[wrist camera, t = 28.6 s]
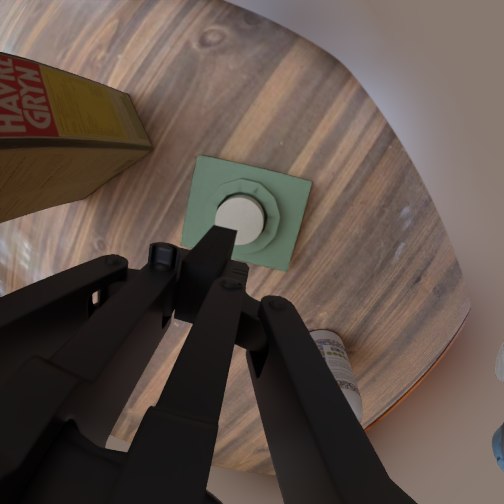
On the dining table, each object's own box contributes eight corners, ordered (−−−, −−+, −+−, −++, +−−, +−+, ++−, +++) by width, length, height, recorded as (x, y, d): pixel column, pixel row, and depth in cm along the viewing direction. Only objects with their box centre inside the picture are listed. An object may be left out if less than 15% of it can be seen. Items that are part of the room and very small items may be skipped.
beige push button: (269, 200, 27) (268, 204, 25) (258, 243, 29) (257, 250, 26) (224, 190, 27) (220, 192, 25) (215, 232, 29) (210, 239, 26)
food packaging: (128, 89, 28) (-39, 37, 5) (156, 150, 31) (-34, 155, 7) (57, 146, 31) (-95, 165, 7) (81, 203, 33) (-76, 264, 9)
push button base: (308, 180, 31) (315, 183, 26) (285, 262, 34) (287, 279, 29) (204, 155, 31) (192, 154, 26) (187, 238, 34) (174, 250, 29)
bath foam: (299, 325, 36) (314, 455, 17) (348, 330, 36) (391, 450, 17) (289, 365, 38) (293, 488, 19) (335, 368, 38) (361, 485, 19)
